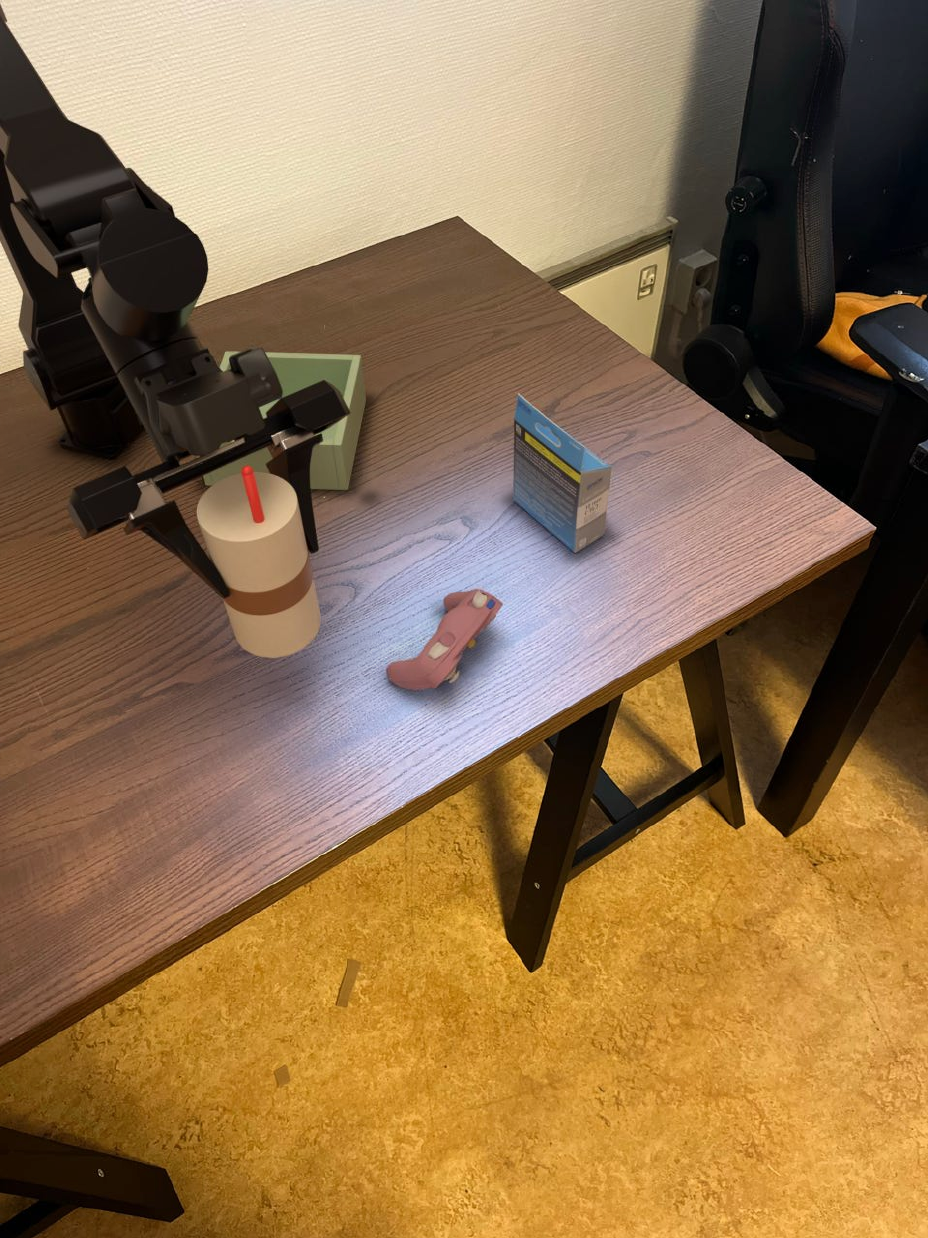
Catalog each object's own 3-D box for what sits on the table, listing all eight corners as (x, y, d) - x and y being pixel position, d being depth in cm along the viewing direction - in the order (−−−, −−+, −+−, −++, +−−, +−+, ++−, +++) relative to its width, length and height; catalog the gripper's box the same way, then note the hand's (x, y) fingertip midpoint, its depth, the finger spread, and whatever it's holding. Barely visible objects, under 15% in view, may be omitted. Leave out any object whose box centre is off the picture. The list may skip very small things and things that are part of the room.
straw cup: (217, 616, 70) (160, 445, 57) (293, 577, 72) (255, 405, 60) (259, 673, 67) (209, 505, 54) (338, 630, 69) (307, 459, 56)
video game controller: (422, 714, 74) (454, 686, 68) (377, 677, 74) (406, 645, 68) (486, 631, 79) (522, 597, 74) (445, 596, 79) (477, 559, 73)
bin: (205, 485, 89) (191, 440, 85) (236, 396, 98) (225, 350, 93) (347, 490, 88) (341, 444, 84) (366, 399, 97) (361, 354, 93)
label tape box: (606, 536, 84) (622, 427, 75) (571, 556, 83) (583, 448, 73) (542, 483, 89) (549, 374, 79) (508, 502, 87) (512, 393, 78)
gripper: (14, 382, 50) (157, 641, 53) (317, 267, 57) (429, 502, 60) (18, 424, 60) (138, 639, 63) (274, 322, 67) (372, 520, 70)
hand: (271, 574), depth 64 cm, fingers closed on straw cup, 6 cm apart
